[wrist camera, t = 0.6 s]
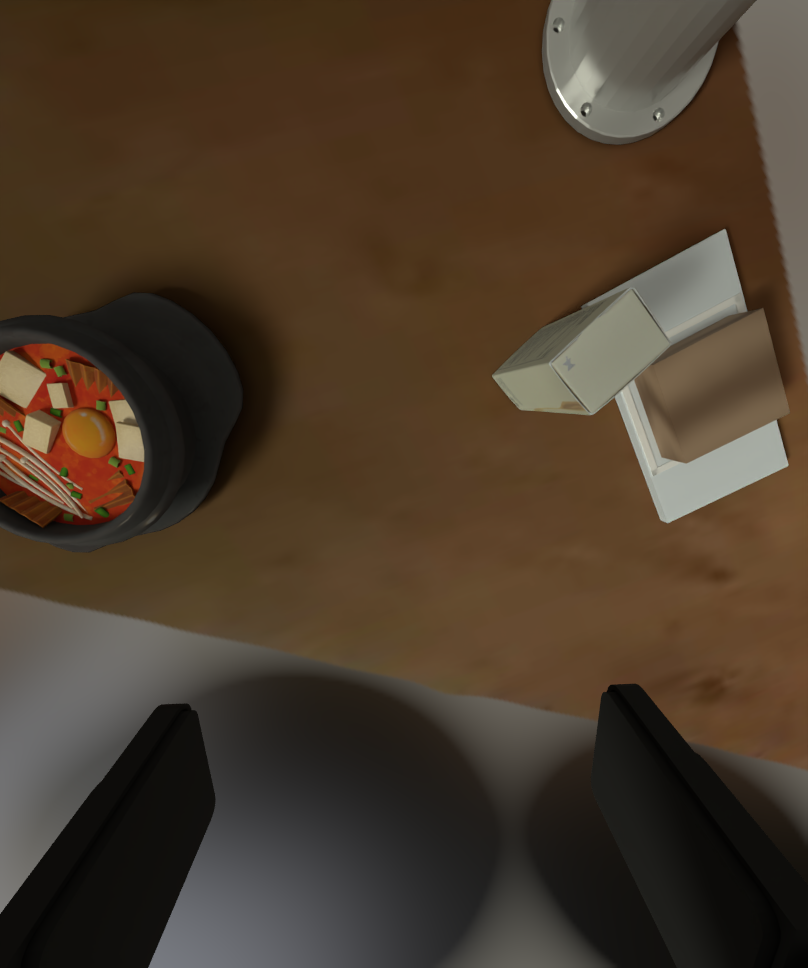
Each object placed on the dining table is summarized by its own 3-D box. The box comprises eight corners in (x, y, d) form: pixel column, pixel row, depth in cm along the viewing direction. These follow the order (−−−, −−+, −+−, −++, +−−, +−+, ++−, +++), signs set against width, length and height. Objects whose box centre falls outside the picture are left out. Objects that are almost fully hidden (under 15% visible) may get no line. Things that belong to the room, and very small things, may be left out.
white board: (581, 306, 32) (587, 303, 31) (715, 233, 31) (726, 228, 30) (660, 519, 37) (668, 523, 36) (777, 463, 36) (789, 465, 35)
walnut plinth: (629, 367, 32) (652, 365, 29) (729, 315, 32) (763, 307, 29) (661, 457, 34) (686, 463, 32) (755, 411, 34) (790, 413, 31)
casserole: (117, 584, 37) (40, 638, 29) (-51, 442, 33) (-194, 459, 25) (298, 418, 34) (269, 427, 26) (135, 240, 30) (38, 183, 22)
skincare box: (519, 411, 34) (587, 422, 22) (489, 375, 33) (543, 366, 21) (576, 360, 33) (678, 344, 21) (546, 322, 32) (635, 282, 20)
